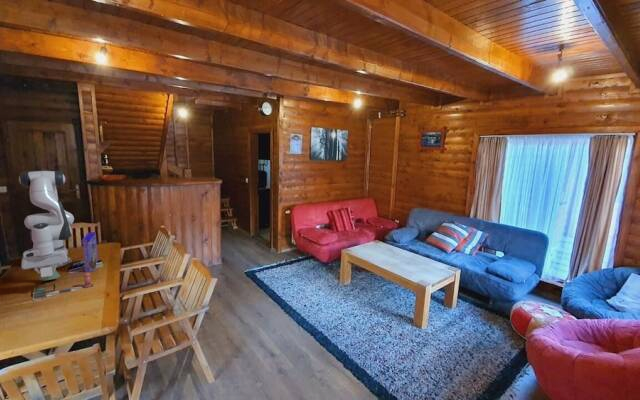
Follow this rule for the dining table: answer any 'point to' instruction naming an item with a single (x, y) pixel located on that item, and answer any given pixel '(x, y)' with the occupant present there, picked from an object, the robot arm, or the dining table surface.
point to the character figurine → (47, 278)
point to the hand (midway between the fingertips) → (46, 272)
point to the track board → (57, 292)
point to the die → (46, 271)
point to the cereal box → (90, 251)
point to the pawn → (87, 280)
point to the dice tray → (42, 290)
